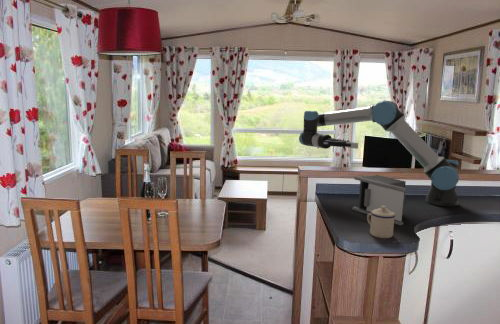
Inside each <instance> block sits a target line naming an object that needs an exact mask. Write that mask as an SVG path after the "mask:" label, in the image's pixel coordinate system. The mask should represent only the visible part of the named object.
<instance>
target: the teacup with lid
mask: <svg viewBox="0 0 500 324" xmlns="http://www.w3.org/2000/svg"><path fill="white" fill-rule="evenodd" d="M394 217H395V213H394V212H392V211H390V210H388V209H386V206H381V208H378V209H375V210H372V212H371V213H369V214H366V220H367V223H368V225H370V228H369V234H370V235H371V236H373V237H376V238H380V239H390V238H393V236H394V226H395V223H394Z"/></svg>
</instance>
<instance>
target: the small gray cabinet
mask: <svg viewBox="0 0 500 324" xmlns="http://www.w3.org/2000/svg"><path fill="white" fill-rule="evenodd" d="M366 176H367V177H362V176H354V180H356V181H359V182H360V183H359V191H358V193H359V194H358V207H357V206H352V207H351V208H352V210H353V211H356V212H358V213H362V214H365V215H368V214H369V213H371V212H369V211H367V207H366V206H364V200H365V189H368V185H369V183H371V184H375V185H379V186H383V187H387V188H391V189H395V190H399V191H403V192H404V200H403V207H404V206H405V204H406V200H407V197H406V194H405V192H407V188H406V181H405V180H402V179H401V180H400V179H396V178H393V177H388V176H383V175H379V174H376V175H375V174H374V175H366ZM403 212H404V210H403V211H402V216H404V214H403ZM394 225H398V226H402V225H404V221H398V220H394Z"/></svg>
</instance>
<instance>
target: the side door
mask: <svg viewBox="0 0 500 324" xmlns="http://www.w3.org/2000/svg"><path fill="white" fill-rule="evenodd" d="M403 200H404V192H403V191H399V190H395V189H391V188H387V187H383V186H379V185H375V184H371V183H369V185H368V189H365V200H364V206H366V207H367V211H369V212H372V210H375V209H378V208H381V206H386V209H388V210H390V211H392V212H394V213H395V217H394V220H398V221H402V219H403V215H402V211H403V212H404V206H403ZM402 222H403V221H402Z"/></svg>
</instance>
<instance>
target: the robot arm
mask: <svg viewBox="0 0 500 324" xmlns="http://www.w3.org/2000/svg"><path fill="white" fill-rule="evenodd" d="M405 118H406V117H405V114H403V112H402V111H401V110H400V109H399V107H398V105H397V104H396V103H395V102H393V101H392V100H387V99H386V100H380V101H378V102H377V103H373V104H371V105H370V106H366V107H359V108H351V109H342V110H334V111H329V112H328V111H327V112H320V113H319V112H318V111H317V110H304V113H303V132H301V133H300V134H299V136H298V140H299V141H298V142H299V144H301V145H303V146H307V147H314V148H317V149H320V148H321V149H326V150H327V149H330V147H338V148H342V149H346V148H350V149H355V150H357V149H359V143H358V142H354V141H350V140H349V139H348V140H345V139H338V138H335V137H334V138H333V137H332V136H331V135H330V134H327V133H325V134H324V133H318V127H326V126H336V125H343V124H352V123H353V124H355V123H363V122H364V123H365V122H372V123H376V124H378V125H380V126H381V128H382V129H383V130H384V131H385V132H387V133H388V132H389V133H391V134H392V135H393V136H394V137H395V138H396V139H397V140H398V141H399V143H400V144H402V146H403V147H405V149H406V150H407V151H408V152H409V153H410V155H412V157H414V159H415V160H416V161H418V163H419V164H420V165H421V166H422V167H423V169H424V170H423V173H424V174H425V175H426V176H427V178H429V179H430V181H431V183H430V188H429V190H428V192H427V194H426V197H425V202H426V203H428V204H431V205H435V206H439V207H457V206H458V205H459V199H458V195H457V184H458V183H459V180H460V176H459V173H458V172H459V171H458V169H459V165H460V164H459V161H458V160H457V159H456V160H455V159H454V160H453V159H447V158H445V157H444V156H439V155H438V154H437V153H436V152H435V151H434V150H433V149H432V147H430V145H429V144H428V143H426V141H425V140H423V139H422V137H421V136H420V135H419V134H418V132H416V130H414V128H412V126H411V125H410V124H409V123H408V122H407V121H406V120H405Z"/></svg>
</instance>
